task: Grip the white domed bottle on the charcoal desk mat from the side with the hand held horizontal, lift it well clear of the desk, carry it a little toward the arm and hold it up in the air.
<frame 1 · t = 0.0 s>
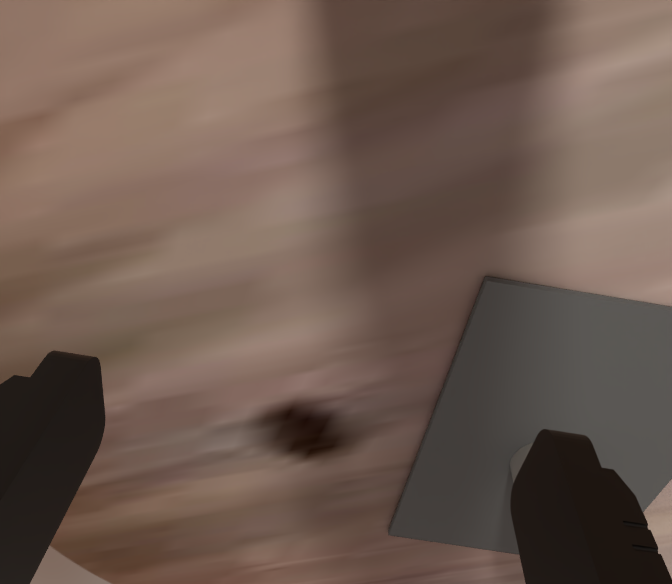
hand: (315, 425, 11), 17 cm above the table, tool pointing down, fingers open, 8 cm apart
desk mat: (551, 447, 37), on the table
white domed bottle: (547, 462, 37), resting on desk mat
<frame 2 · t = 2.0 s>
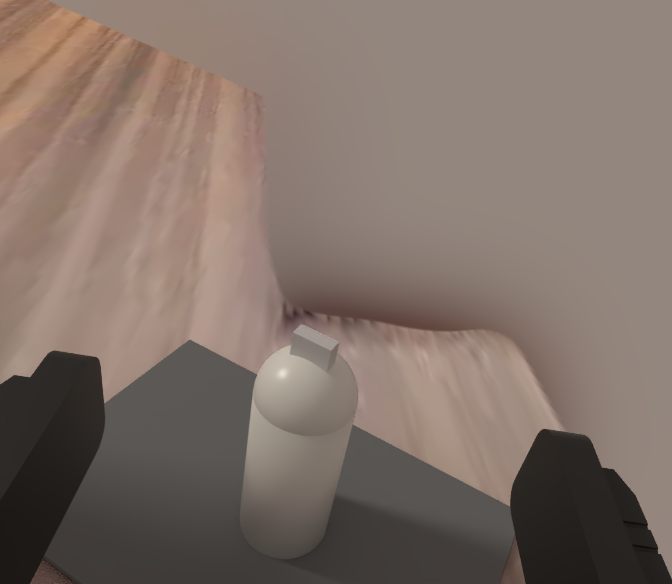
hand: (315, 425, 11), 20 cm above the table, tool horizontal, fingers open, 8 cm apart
desk mat: (267, 512, 31), on the table
white domed bottle: (283, 517, 31), resting on desk mat
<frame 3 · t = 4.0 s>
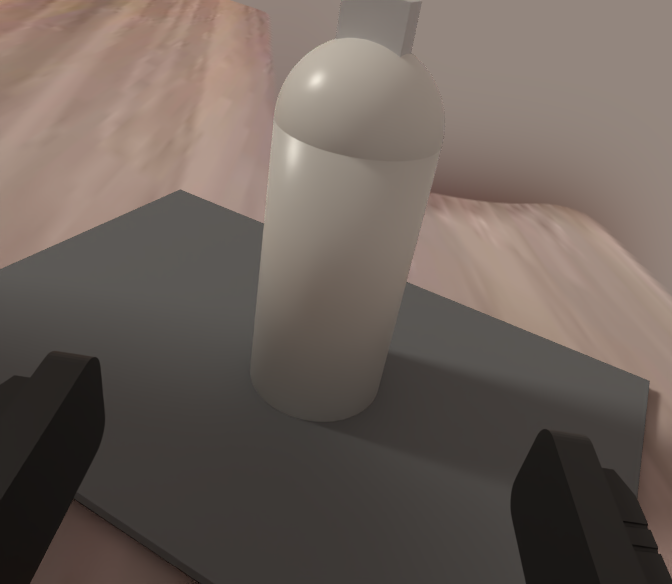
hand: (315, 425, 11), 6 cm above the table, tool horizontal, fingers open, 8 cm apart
desk mat: (290, 370, 21), on the table
white domed bottle: (315, 373, 21), resting on desk mat
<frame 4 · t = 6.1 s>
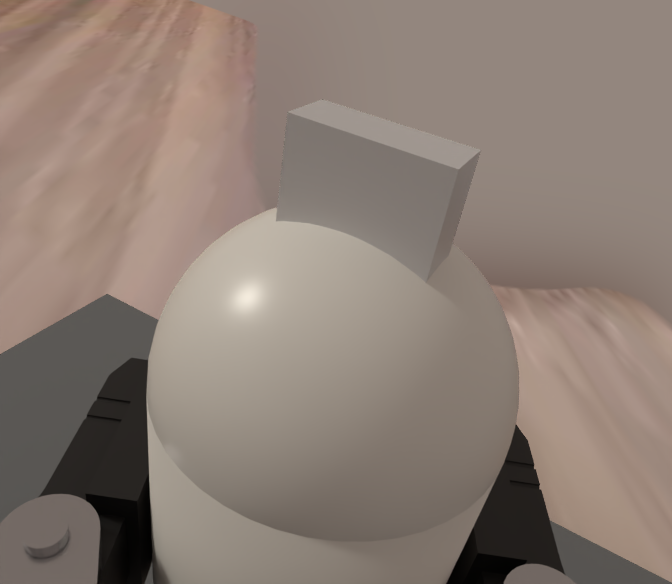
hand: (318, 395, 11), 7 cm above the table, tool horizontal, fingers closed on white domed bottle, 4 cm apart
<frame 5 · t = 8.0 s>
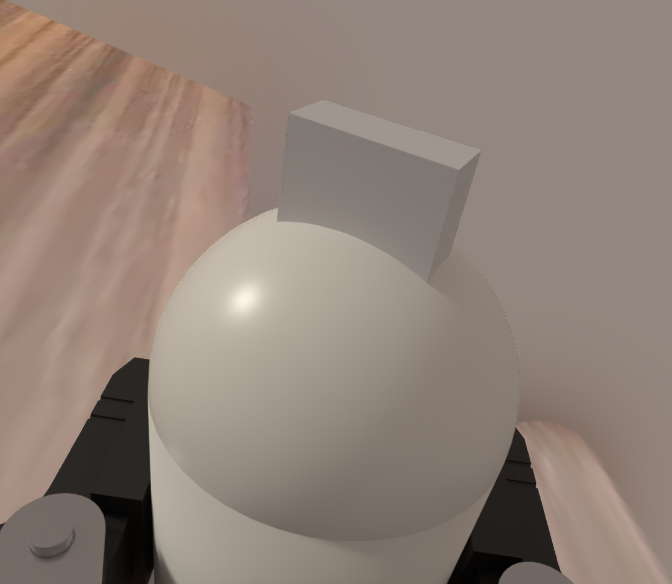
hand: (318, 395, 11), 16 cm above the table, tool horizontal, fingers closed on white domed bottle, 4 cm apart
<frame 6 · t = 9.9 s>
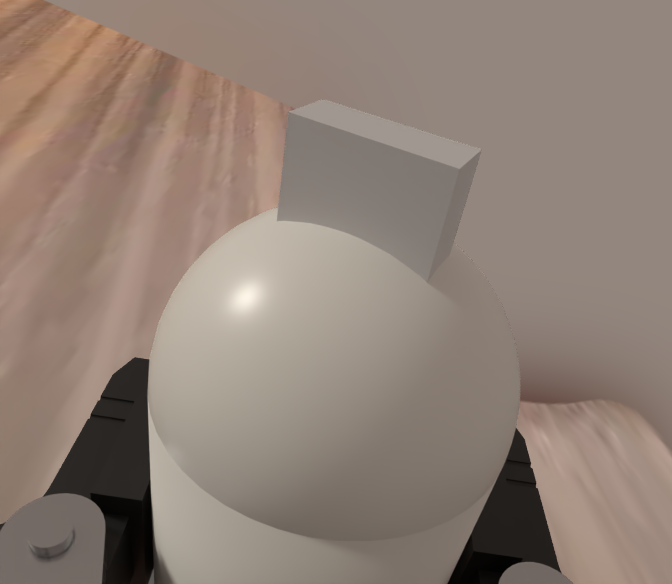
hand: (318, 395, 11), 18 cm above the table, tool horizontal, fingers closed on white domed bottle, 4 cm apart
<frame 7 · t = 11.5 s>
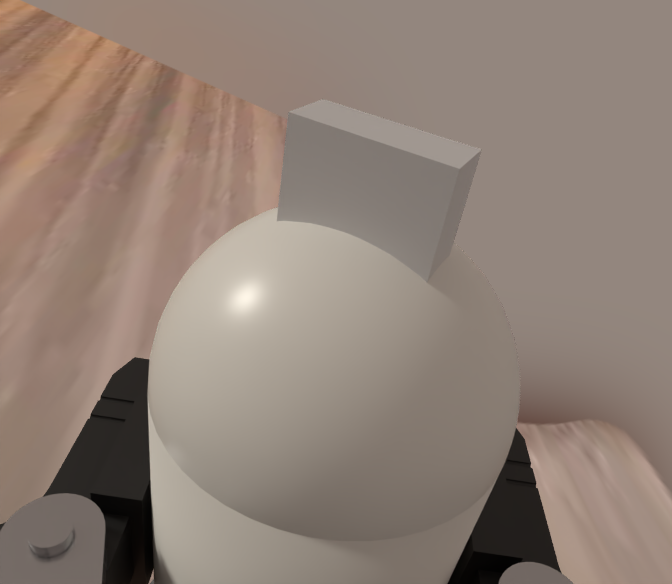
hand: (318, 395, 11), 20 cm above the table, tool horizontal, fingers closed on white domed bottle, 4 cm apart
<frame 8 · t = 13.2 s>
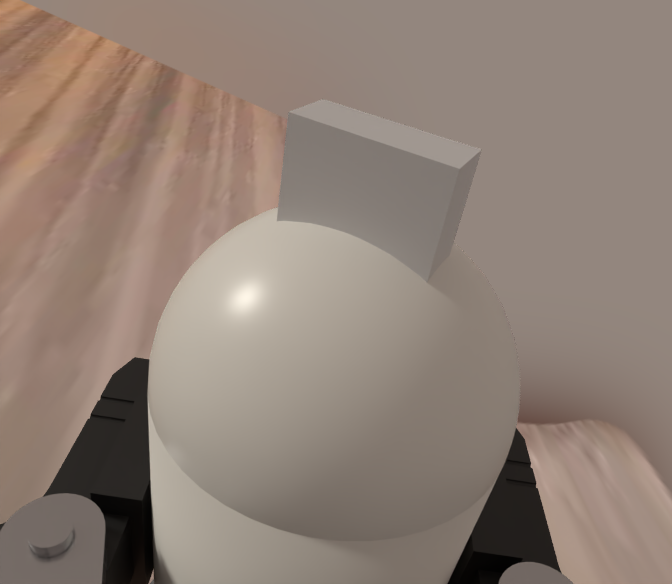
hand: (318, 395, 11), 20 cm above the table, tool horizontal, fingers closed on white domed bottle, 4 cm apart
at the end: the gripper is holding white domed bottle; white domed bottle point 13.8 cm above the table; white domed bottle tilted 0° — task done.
